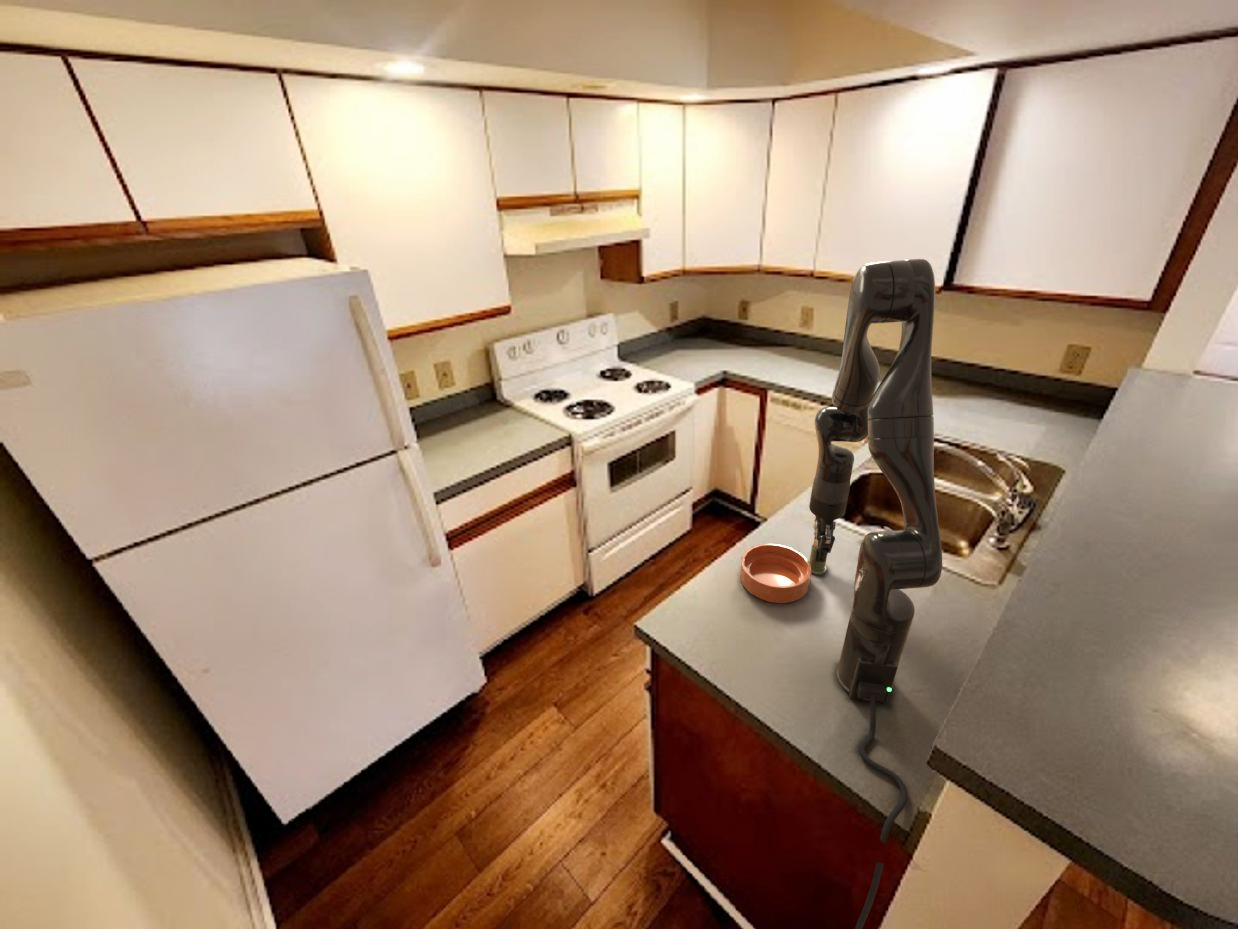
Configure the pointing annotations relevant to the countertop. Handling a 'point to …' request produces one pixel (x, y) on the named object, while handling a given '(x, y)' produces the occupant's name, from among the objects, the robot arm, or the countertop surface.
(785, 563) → the bowl
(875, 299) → the robot arm
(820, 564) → the peg doll
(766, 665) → the countertop surface
